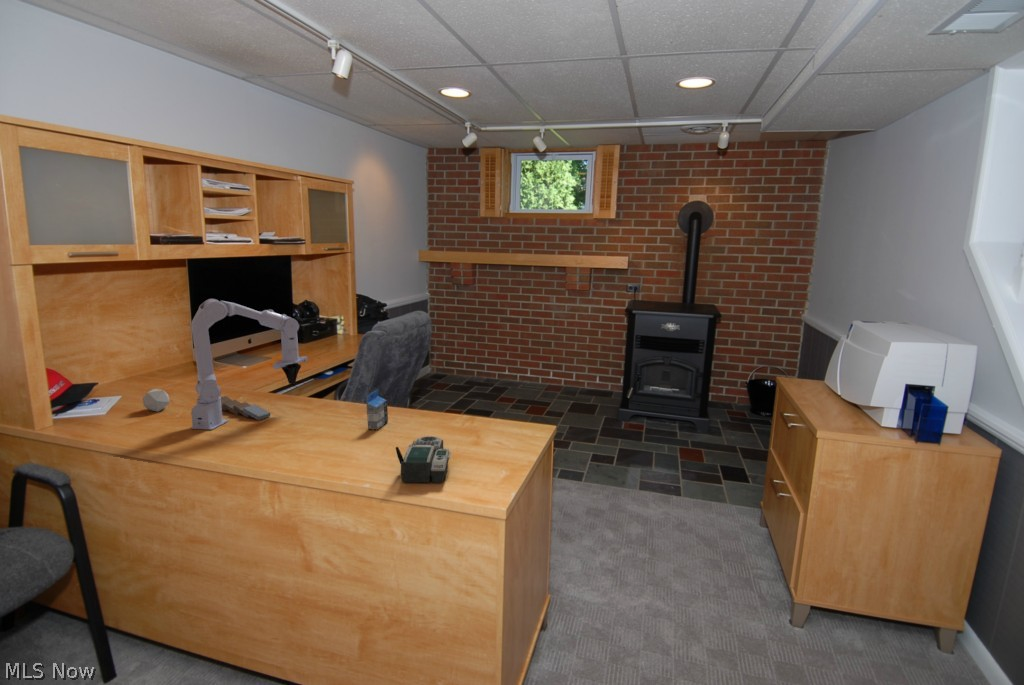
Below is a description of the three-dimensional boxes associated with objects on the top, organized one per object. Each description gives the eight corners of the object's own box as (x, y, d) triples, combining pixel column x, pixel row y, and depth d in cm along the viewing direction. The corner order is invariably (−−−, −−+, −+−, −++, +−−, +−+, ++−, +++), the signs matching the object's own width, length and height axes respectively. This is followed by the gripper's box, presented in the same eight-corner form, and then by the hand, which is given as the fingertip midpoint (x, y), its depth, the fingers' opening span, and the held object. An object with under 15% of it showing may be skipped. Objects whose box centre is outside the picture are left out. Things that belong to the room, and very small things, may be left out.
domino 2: (249, 407, 201) (235, 399, 204) (237, 411, 196) (223, 403, 199) (248, 411, 201) (234, 403, 204) (236, 415, 197) (222, 406, 200)
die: (176, 410, 203) (172, 387, 206) (160, 405, 195) (156, 381, 198) (155, 417, 203) (152, 395, 206) (138, 413, 195) (135, 389, 198)
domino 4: (270, 412, 195) (255, 404, 198) (259, 416, 191) (243, 408, 194) (270, 416, 196) (254, 408, 198) (258, 420, 191) (243, 411, 194)
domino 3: (260, 410, 198) (245, 402, 201) (248, 414, 194) (233, 405, 196) (259, 414, 198) (244, 405, 201) (248, 418, 194) (233, 409, 197)
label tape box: (377, 430, 184) (376, 396, 181) (366, 429, 184) (365, 395, 182) (388, 422, 192) (387, 389, 190) (378, 421, 193) (377, 389, 191)
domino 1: (238, 404, 204) (225, 396, 208) (225, 407, 200) (213, 398, 203) (237, 407, 205) (225, 399, 208) (225, 411, 200) (213, 402, 204)
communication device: (454, 447, 172) (454, 416, 170) (447, 485, 144) (447, 449, 143) (410, 446, 172) (410, 415, 170) (394, 485, 144) (393, 448, 142)
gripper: (282, 353, 192) (284, 389, 194) (312, 346, 205) (314, 380, 207) (268, 351, 195) (270, 386, 197) (299, 344, 208) (301, 378, 210)
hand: (292, 383), depth 202 cm, fingers closed
